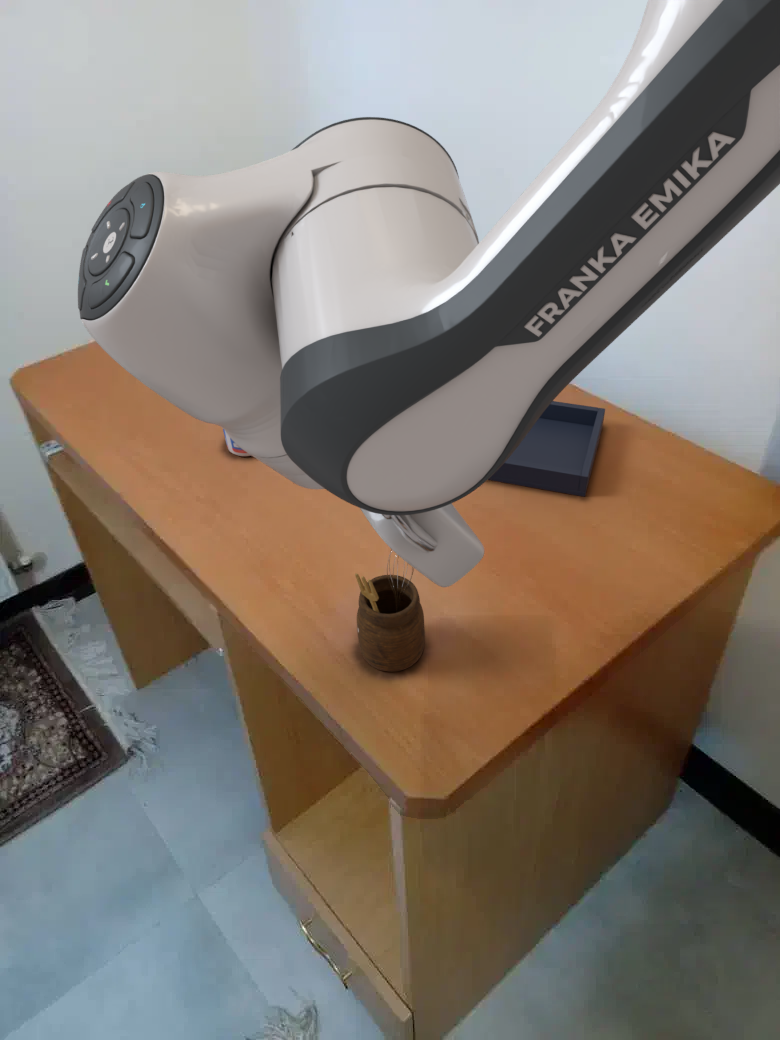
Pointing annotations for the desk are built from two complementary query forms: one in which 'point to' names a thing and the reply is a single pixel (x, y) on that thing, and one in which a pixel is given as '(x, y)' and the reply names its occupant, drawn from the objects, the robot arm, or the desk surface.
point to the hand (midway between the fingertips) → (428, 498)
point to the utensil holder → (390, 621)
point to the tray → (556, 450)
